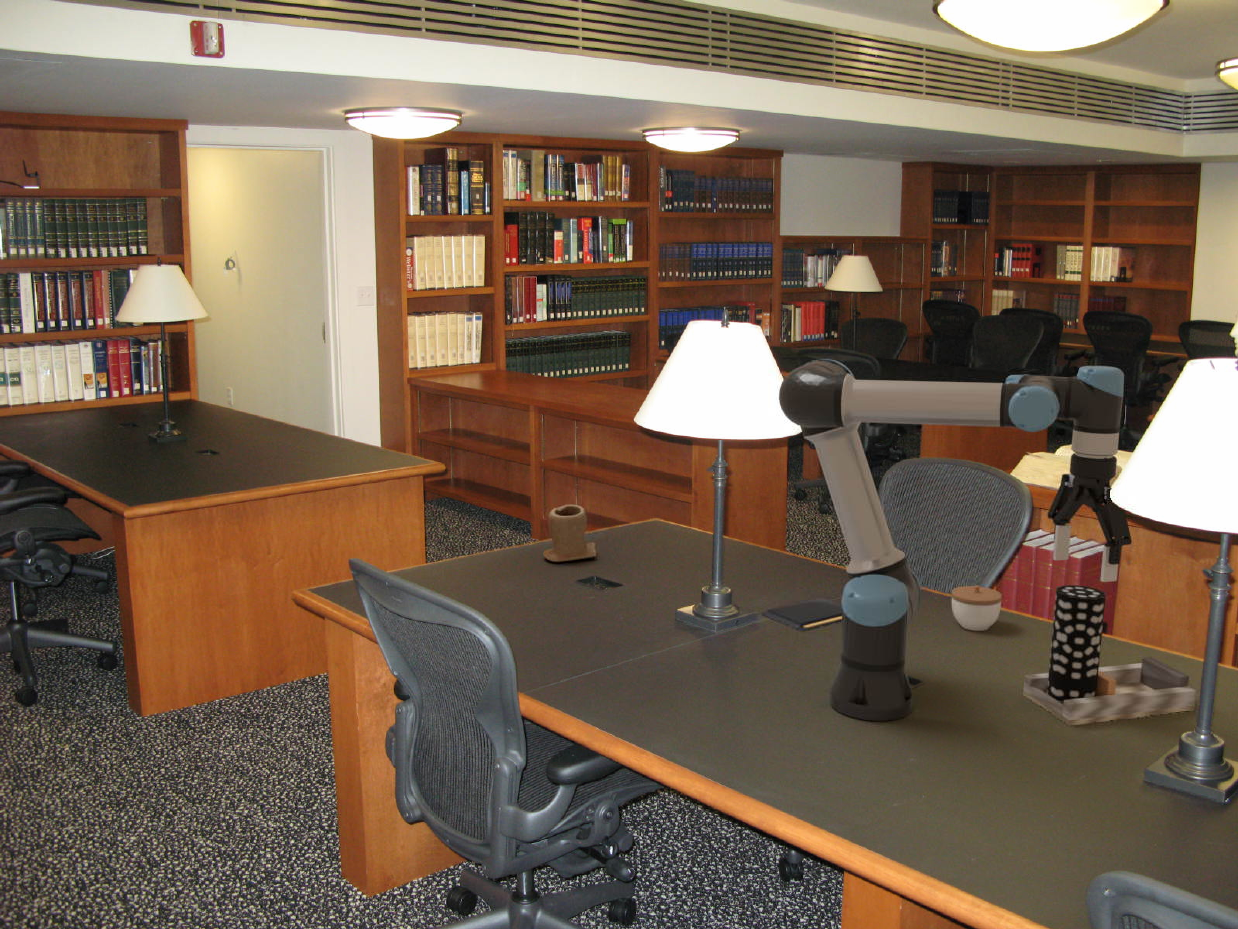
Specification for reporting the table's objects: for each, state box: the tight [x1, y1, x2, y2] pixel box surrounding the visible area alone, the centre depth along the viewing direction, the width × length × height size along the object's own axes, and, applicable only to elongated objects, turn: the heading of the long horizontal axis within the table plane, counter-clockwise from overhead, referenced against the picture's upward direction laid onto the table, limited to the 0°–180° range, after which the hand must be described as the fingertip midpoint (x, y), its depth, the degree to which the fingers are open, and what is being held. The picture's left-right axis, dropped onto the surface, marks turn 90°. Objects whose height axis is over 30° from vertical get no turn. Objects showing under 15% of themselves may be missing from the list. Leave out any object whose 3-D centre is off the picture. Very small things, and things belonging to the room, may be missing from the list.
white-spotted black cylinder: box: [1047, 584, 1107, 703], centre depth 202 cm, size 8×8×20 cm
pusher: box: [1096, 670, 1116, 696], centre depth 205 cm, size 2×9×5 cm, turn 13°
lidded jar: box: [950, 584, 1003, 632], centre depth 247 cm, size 11×11×9 cm
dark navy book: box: [761, 597, 842, 632], centre depth 256 cm, size 20×2×15 cm
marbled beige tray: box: [1022, 656, 1197, 726], centre depth 206 cm, size 26×14×6 cm, turn 104°
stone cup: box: [543, 504, 597, 563], centre depth 301 cm, size 15×12×15 cm
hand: (1083, 570), depth 200 cm, fingers open, 13 cm apart
